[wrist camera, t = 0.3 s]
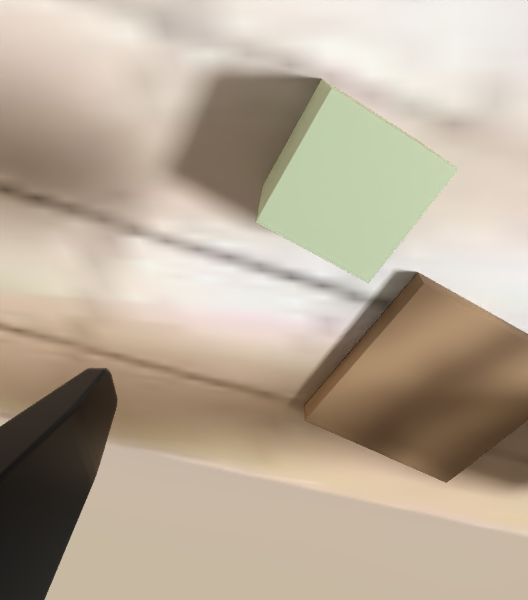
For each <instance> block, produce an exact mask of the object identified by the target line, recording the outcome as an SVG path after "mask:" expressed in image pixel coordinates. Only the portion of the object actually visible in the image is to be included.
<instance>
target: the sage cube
mask: <svg viewBox="0 0 528 600" xmlns="http://www.w3.org/2000/svg"><path fill="white" fill-rule="evenodd" d="M457 171H458V169H457V168H456V167H455V166H453V165H452V164H450V163H449V162H448V161H446V160H445V159H443V158H442V157H441V156H439V155H438V154H436V153H435V152H434V151H432V150H431V149H429V148H428V147H426V146H425V145H424V144H422V143H421V142H419V141H418V140H416V139H415V138H413V137H412V136H410V135H409V134H407V133H406V132H404V131H402V130H401V129H399V128H398V127H396V126H395V125H393V124H392V123H390V122H388V121H387V120H385V119H384V118H382V117H381V116H379V115H378V114H376V113H374V112H373V111H371V110H370V109H368V108H367V107H365V106H364V105H362V104H360V103H359V102H357V101H356V100H354V99H353V98H351V97H350V96H348V95H347V94H345V93H343V92H342V91H340V90H339V89H337V88H336V87H334V86H333V85H331V84H329V83H328V82H326V81H325V80H323V79H321V81H320V83H319V84H318V86H317V88H316V90H315V92H314V93H313V95H312V97H311V99H310V101H309V103H308V104H307V106H306V108H305V110H304V112H303V113H302V115H301V117H300V119H299V121H298V122H297V124H296V126H295V128H294V130H293V132H292V133H291V135H290V137H289V139H288V141H287V142H286V144H285V146H284V148H283V150H282V152H281V153H280V155H279V157H278V159H277V161H276V162H275V164H274V166H273V168H272V170H271V172H270V173H269V175H268V177H267V179H266V181H265V182H264V184H263V188H262V193H261V198H260V203H259V208H258V213H257V218H256V223H258V224H260V225H262V226H264V227H265V228H267V229H269V230H271V231H273V232H275V233H277V234H278V235H280V236H282V237H284V238H286V239H288V240H290V241H291V242H293V243H295V244H297V245H299V246H301V247H302V248H304V249H306V250H308V251H310V252H312V253H314V254H315V255H317V256H319V257H321V258H323V259H325V260H327V261H328V262H330V263H332V264H334V265H336V266H338V267H340V268H341V269H343V270H345V271H347V272H349V273H351V274H352V275H354V276H356V277H358V278H360V279H362V280H364V281H365V282H367V283H369V282H370V281H371V280H372V278H373V277H374V276H375V274H376V273H377V272H378V271H379V269H380V268H381V267H382V266H383V264H384V263H385V262H386V261H387V259H388V258H389V257H390V255H391V254H392V253H393V252H394V250H395V249H396V248H397V247H398V245H399V244H400V243H401V242H402V240H403V239H404V238H405V236H406V235H407V234H408V233H409V231H410V230H411V229H412V228H413V226H414V225H415V224H416V223H417V221H418V220H419V219H420V217H421V216H422V215H423V214H424V212H425V211H426V210H427V209H428V207H429V206H430V205H431V204H432V202H433V201H434V200H435V198H436V197H437V196H438V195H439V193H440V192H441V191H442V190H443V188H444V187H445V186H446V185H447V183H448V182H449V181H450V179H451V178H452V177H453V176H454V174H455V173H456V172H457Z"/></svg>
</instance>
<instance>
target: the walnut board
mask: <svg viewBox="0 0 528 600" xmlns="http://www.w3.org/2000/svg"><path fill="white" fill-rule="evenodd" d="M304 411H305V421H307V422H309V423H312V424H314V425H316V426H319V427H321V428H323V429H325V430H328V431H330V432H332V433H335V434H337V435H339V436H341V437H344V438H346V439H348V440H350V441H353V442H355V443H357V444H360V445H362V446H364V447H366V448H369V449H371V450H373V451H375V452H378V453H380V454H382V455H385V456H387V457H389V458H391V459H394V460H396V461H398V462H401V463H403V464H405V465H407V466H410V467H412V468H414V469H416V470H419V471H421V472H423V473H426V474H428V475H430V476H432V477H435V478H437V479H439V480H442V481H444V482H446V483H447V482H448V481H449V480H451V479H452V478H453V477H455V476H456V475H457V474H458V473H460V472H461V471H462V470H464V469H465V468H466V467H468V466H469V465H470V464H471V463H473V462H474V461H475V460H477V459H478V458H479V457H480V456H482V455H483V454H484V453H486V452H487V451H488V450H489V449H491V448H492V447H493V446H495V445H496V444H497V443H498V442H500V441H501V440H502V439H504V438H505V437H506V436H507V435H509V434H510V433H511V432H513V431H514V430H515V429H516V428H518V427H519V426H520V425H522V424H523V423H524V422H526V421H527V420H528V334H527V333H525V332H523V331H521V330H520V329H518V328H516V327H514V326H512V325H511V324H509V323H507V322H505V321H504V320H502V319H500V318H498V317H496V316H495V315H493V314H491V313H489V312H488V311H486V310H484V309H482V308H480V307H479V306H477V305H475V304H473V303H472V302H470V301H468V300H466V299H464V298H463V297H461V296H459V295H457V294H456V293H454V292H452V291H450V290H448V289H447V288H445V287H443V286H441V285H440V284H438V283H436V282H434V281H433V280H431V279H429V278H427V277H425V276H424V275H422V274H420V273H417V274H416V275H415V276H414V277H413V279H412V280H411V281H410V282H409V283H408V285H407V286H406V287H405V288H404V289H403V290H402V292H401V293H400V294H399V295H398V296H397V297H396V299H395V300H394V301H393V302H392V303H391V305H390V306H389V307H388V308H387V309H386V310H385V312H384V313H383V314H382V315H381V316H380V318H379V319H378V320H377V321H376V322H375V323H374V325H373V326H372V327H371V328H370V329H369V330H368V332H367V333H366V334H365V335H364V336H363V338H362V339H361V340H360V341H359V342H358V343H357V345H356V346H355V347H354V348H353V349H352V350H351V352H350V353H349V354H348V355H347V356H346V358H345V359H344V360H343V361H342V362H341V363H340V365H339V366H338V367H337V368H336V369H335V370H334V372H333V373H332V374H331V375H330V376H329V378H328V379H327V380H326V381H325V382H324V383H323V385H322V386H321V387H320V388H319V389H318V391H317V392H316V393H315V394H314V395H313V396H312V398H311V399H310V400H309V401H308V402H307V403H306V405H305V406H304Z"/></svg>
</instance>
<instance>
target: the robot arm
mask: <svg viewBox="0 0 528 600" xmlns="http://www.w3.org/2000/svg"><path fill="white" fill-rule="evenodd" d="M116 407H117V395H116V391H115V387H114V383H113V379H112V375H111V372H110V371H109V370H108V369H106V368H88V369H86V370H85V371H83V372H82V373H80V374H79V375H77V376H76V377H74V378H73V379H71V380H70V381H68V382H67V383H65V384H64V385H62V386H61V387H59V388H58V389H56V390H55V391H53V392H52V393H50V394H49V395H47V396H45V397H44V398H42V399H41V400H39V401H38V402H36V403H35V404H33V405H32V406H30V407H29V408H27V409H26V410H24V411H23V412H21V413H20V414H18V415H17V416H15V417H14V418H12V419H11V420H9V421H8V422H6V423H5V424H3V425H2V426H0V600H44V599H45V597H46V595H47V592H48V590H49V587H50V585H51V583H52V580H53V578H54V575H55V573H56V571H57V568H58V566H59V564H60V561H61V559H62V556H63V554H64V552H65V549H66V547H67V544H68V542H69V540H70V537H71V535H72V532H73V530H74V528H75V525H76V523H77V521H78V518H79V515H80V513H81V511H82V509H83V506H84V504H85V501H86V499H87V496H88V494H89V492H90V489H91V487H92V484H93V482H94V479H95V477H96V474H97V471H98V468H99V465H100V461H101V458H102V455H103V452H104V448H105V445H106V441H107V438H108V435H109V431H110V428H111V424H112V421H113V418H114V414H115V411H116Z"/></svg>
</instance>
